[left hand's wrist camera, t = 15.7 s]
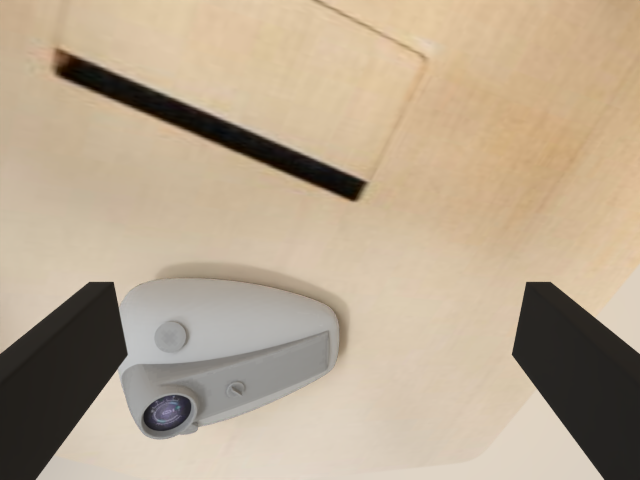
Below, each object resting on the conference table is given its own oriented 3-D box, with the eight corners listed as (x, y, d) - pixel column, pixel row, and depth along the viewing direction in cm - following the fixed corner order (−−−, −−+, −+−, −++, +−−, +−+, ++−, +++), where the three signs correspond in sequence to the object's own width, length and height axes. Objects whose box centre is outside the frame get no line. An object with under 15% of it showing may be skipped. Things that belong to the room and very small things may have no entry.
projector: (245, 432, 53) (218, 552, 39) (96, 333, 47) (4, 431, 34) (361, 327, 47) (378, 423, 33) (207, 201, 42) (152, 253, 28)
